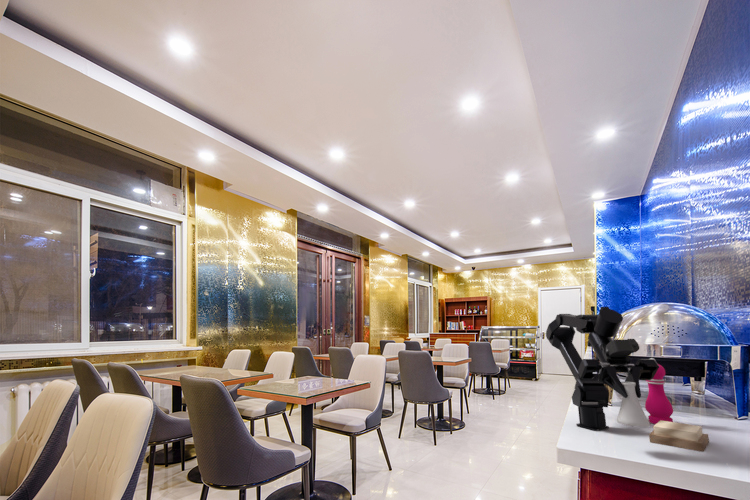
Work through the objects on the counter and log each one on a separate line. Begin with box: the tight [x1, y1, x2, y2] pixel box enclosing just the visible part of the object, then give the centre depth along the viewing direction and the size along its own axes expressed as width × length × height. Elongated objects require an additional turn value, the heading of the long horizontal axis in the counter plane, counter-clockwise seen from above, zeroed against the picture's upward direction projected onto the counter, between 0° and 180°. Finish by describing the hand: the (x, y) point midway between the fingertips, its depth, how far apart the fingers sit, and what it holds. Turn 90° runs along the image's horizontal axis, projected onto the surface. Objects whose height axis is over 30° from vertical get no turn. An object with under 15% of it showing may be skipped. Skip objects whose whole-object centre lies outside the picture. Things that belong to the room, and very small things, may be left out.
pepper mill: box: [644, 357, 674, 425], centre depth 123 cm, size 7×7×20 cm
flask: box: [616, 381, 652, 428], centre depth 96 cm, size 7×7×10 cm
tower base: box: [648, 420, 710, 453], centre depth 102 cm, size 11×11×4 cm
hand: (633, 396), depth 95 cm, fingers closed on flask, 3 cm apart
